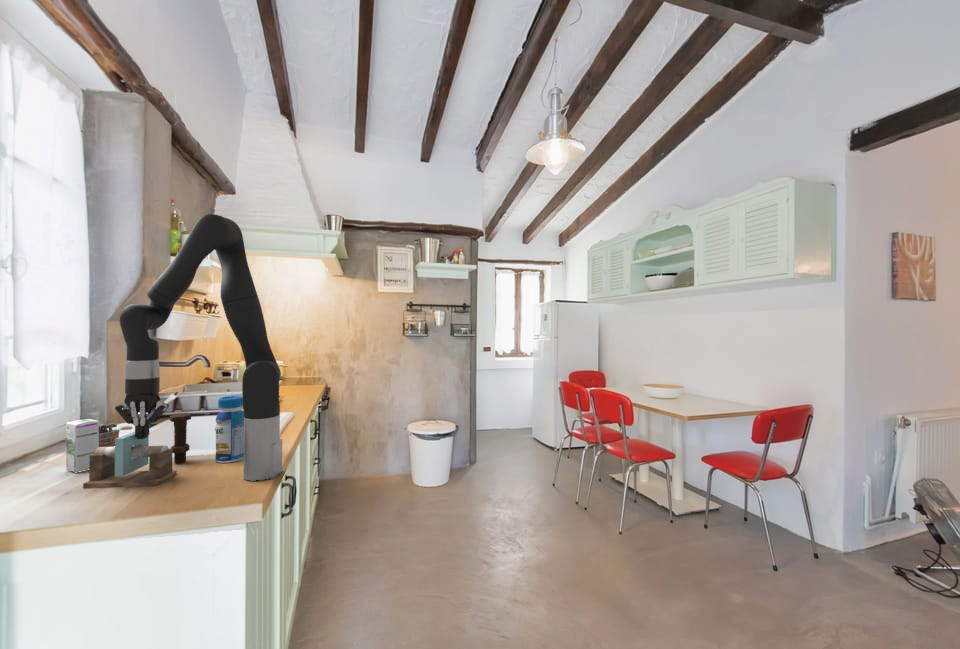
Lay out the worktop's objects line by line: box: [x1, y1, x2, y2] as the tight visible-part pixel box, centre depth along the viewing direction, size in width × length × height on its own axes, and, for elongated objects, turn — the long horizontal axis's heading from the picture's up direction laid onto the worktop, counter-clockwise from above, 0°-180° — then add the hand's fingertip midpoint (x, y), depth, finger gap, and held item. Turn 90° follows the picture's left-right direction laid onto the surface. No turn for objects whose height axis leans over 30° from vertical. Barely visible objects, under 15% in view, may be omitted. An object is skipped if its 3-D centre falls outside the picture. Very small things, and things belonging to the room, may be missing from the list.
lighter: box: [98, 422, 120, 447], centre depth 140 cm, size 8×3×10 cm, turn 148°
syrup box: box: [65, 418, 99, 473], centre depth 126 cm, size 6×6×14 cm
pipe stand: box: [82, 445, 178, 489], centre depth 117 cm, size 18×9×10 cm, turn 96°
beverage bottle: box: [214, 395, 244, 464], centre depth 136 cm, size 8×8×20 cm
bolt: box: [169, 412, 192, 465], centre depth 132 cm, size 6×5×15 cm
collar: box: [115, 431, 150, 476], centre depth 117 cm, size 2×10×10 cm, turn 6°
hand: (142, 438), depth 117 cm, fingers closed
